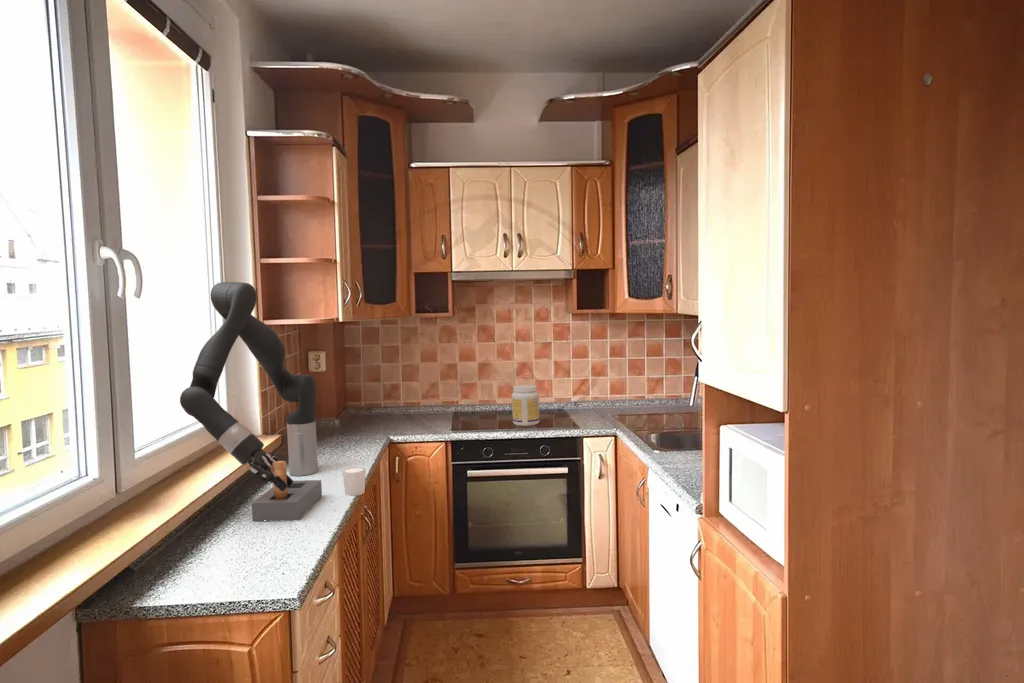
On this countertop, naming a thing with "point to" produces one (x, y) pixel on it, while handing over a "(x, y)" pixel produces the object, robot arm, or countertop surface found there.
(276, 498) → the peg
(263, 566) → the countertop surface
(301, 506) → the hole block
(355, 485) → the shot glass
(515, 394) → the supplement tub
